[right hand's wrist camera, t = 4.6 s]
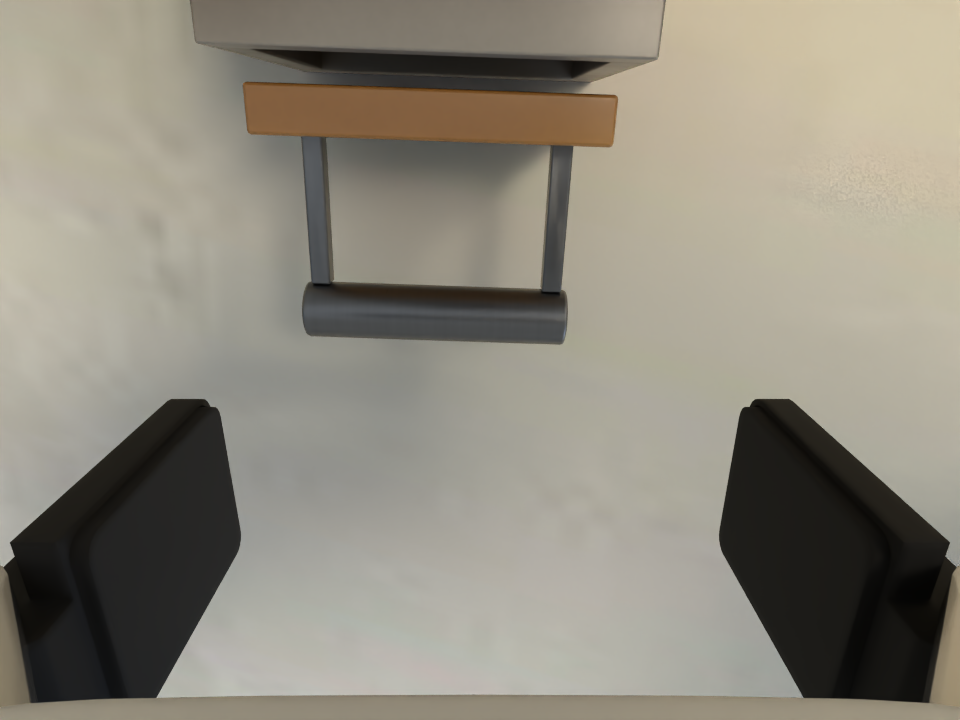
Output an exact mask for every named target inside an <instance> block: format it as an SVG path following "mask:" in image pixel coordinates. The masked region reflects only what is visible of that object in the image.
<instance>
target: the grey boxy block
mask: <svg viewBox="0 0 960 720" xmlns="http://www.w3.org/2000/svg"><path fill="white" fill-rule="evenodd" d="M665 2H666V0H190V4H191V12H192V20H193V28H194V36H195V41H196V43H198V44H202V45H206V46H210V47H216V48H218V49H222V50H226V51H230V52H233V53H237V54H241V55H245V56H249V57H252V58H256V59H260V60H264V61H267V62H271V63H275V64H279V65H283V66H286V67H290V68H294V69H298V70H301V71H305V72H333V73H360V74H387V75H415V76H442V77H470V78H497V79H525V80H552V81H580V82H593V81H596V80H599V79H602V78H605V77H608V76H611V75H614V74H617V73H620V72H622V71H625V70H628V69H631V68H634V67H637V66H640V65H643V64H646V63H649V62H651V61H654V60H657V59H658V57H659V49H660V41H661V33H662V25H663V18H664V10H665Z"/></svg>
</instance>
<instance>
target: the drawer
mask: <svg viewBox="0 0 960 720" xmlns="http://www.w3.org/2000/svg"><path fill="white" fill-rule="evenodd" d="M243 93H244V103H245V113H246V123H247V131H248V133H249V134H251V135H279V136H301V140H302V154H303V168H304V183H305V197H306V211H307V225H308V239H309V253H310V268H311V282H309V283H308V284H307V285H306V288H305V291H304V295H303V302H302V317H303V324H304V328H305V331H306V333H307V334H308V335H310V336H321V337H350V338H380V339H410V340H439V341H469V342H499V343H528V344H558V345H560V344H563V342H564V339H565V336H566V330H567V317H568V304H567V295H566V292H565V291H564V290H561V285H562V274H563V262H564V250H565V238H566V227H567V215H568V203H569V191H570V180H571V168H572V156H573V146H587V147H611V146H612V145H613V142H614V133H615V123H616V114H617V105H618V97H617V96H616V95H600V94H573V93H545V92H518V91H490V90H462V89H435V88H407V87H380V86H352V85H325V84H297V83H270V82H244V83H243ZM326 137H335V138H363V139H391V140H419V141H447V142H475V143H503V144H531V145H551V148H550V162H549V176H548V190H547V203H546V217H545V231H544V245H543V259H542V273H541V289H524V288H495V287H466V286H436V285H407V284H378V283H349V282H332V281H333V280H334V269H333V251H332V234H331V216H330V198H329V181H328V163H327V145H326Z"/></svg>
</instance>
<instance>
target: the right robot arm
mask: <svg viewBox="0 0 960 720" xmlns="http://www.w3.org/2000/svg"><path fill="white" fill-rule="evenodd" d="M240 541H241V531H240V525H239V519H238V513H237V508H236V502H235V496H234V491H233V485H232V479H231V473H230V468H229V462H228V456H227V450H226V445H225V439H224V433H223V428H222V422H221V416H220V413H219V411H218V409H217V408H216V407H210V405H209V403H208V402H207V401H206V400H205V399H170V400H169V401H167V402H166V403H165V404H164V405H163V406H162V407H160V408H159V409H158V410H157V411H156V412H155V413H154V414H153V415H151V416H150V417H149V418H148V419H147V420H146V421H145V422H144V423H143V424H141V425H140V426H139V427H138V428H137V429H136V430H135V431H134V432H133V433H131V434H130V435H129V436H128V437H127V438H126V439H125V440H124V441H123V442H121V443H120V444H119V445H118V446H117V447H116V448H115V449H114V450H113V451H111V452H110V453H109V454H108V455H107V456H106V457H105V458H104V459H103V460H101V461H100V462H99V463H98V464H97V465H96V466H95V467H94V468H92V469H91V470H90V471H89V472H88V473H87V474H86V475H85V476H84V477H82V478H81V479H80V480H79V481H78V482H77V483H76V484H75V485H74V486H72V487H71V488H70V489H69V490H68V491H67V492H66V493H65V494H64V495H62V496H61V497H60V498H59V499H58V500H57V501H56V502H55V503H54V504H52V505H51V506H50V507H49V508H48V509H47V510H46V511H45V512H43V513H42V514H41V515H40V516H39V517H38V518H37V519H36V520H35V521H33V522H32V523H31V524H30V525H29V526H28V527H27V528H26V529H25V530H23V531H22V532H21V533H20V534H19V535H18V536H17V537H16V538H15V539H13V540H12V541H11V542H10V544H11V547H12V550H13V553H14V556H15V557H14V558H13V559H12V560H11V561H10V562H9V563H8V564H6V565H5V566H4V567H3V566H0V720H960V566H957V567H956V566H955V565H954V564H952V563H951V562H950V561H949V560H948V559H947V558H946V557H945V556H946V553H947V550H948V547H949V544H950V542H949V541H948V540H947V539H945V538H944V537H943V536H942V535H941V534H940V533H939V532H938V531H937V530H935V529H934V528H933V527H932V526H931V525H930V524H929V523H928V522H927V521H925V520H924V519H923V518H922V517H921V516H920V515H919V514H918V513H917V512H915V511H914V510H913V509H912V508H911V507H910V506H909V505H908V504H906V503H905V502H904V501H903V500H902V499H901V498H900V497H899V496H898V495H896V494H895V493H894V492H893V491H892V490H891V489H890V488H889V487H888V486H886V485H885V484H884V483H883V482H882V481H881V480H880V479H879V478H878V477H876V476H875V475H874V474H873V473H872V472H871V471H870V470H869V469H868V468H866V467H865V466H864V465H863V464H862V463H861V462H860V461H859V460H857V459H856V458H855V457H854V456H853V455H852V454H851V453H850V452H849V451H847V450H846V449H845V448H844V447H843V446H842V445H841V444H840V443H839V442H837V441H836V440H835V439H834V438H833V437H832V436H831V435H830V434H829V433H827V432H826V431H825V430H824V429H823V428H822V427H821V426H820V425H819V424H817V423H816V422H815V421H814V420H813V419H812V418H811V417H810V416H809V415H807V414H806V413H805V412H804V411H803V410H802V409H801V408H800V407H798V406H797V405H796V404H795V403H794V402H793V401H791V400H790V399H755V400H754V401H753V402H752V403H751V405H750V407H744V408H743V409H742V411H741V413H740V416H739V422H738V428H737V433H736V439H735V445H734V450H733V456H732V462H731V468H730V473H729V479H728V485H727V491H726V496H725V502H724V508H723V513H722V519H721V525H720V531H719V541H720V547H721V550H722V552H723V555H724V556H725V558H726V560H727V562H728V564H729V565H730V567H731V569H732V571H733V572H734V574H735V576H736V578H737V580H738V581H739V583H740V585H741V587H742V588H743V590H744V592H745V594H746V596H747V597H748V599H749V601H750V603H751V605H752V606H753V608H754V610H755V612H756V613H757V615H758V617H759V619H760V621H761V622H762V624H763V626H764V628H765V629H766V631H767V633H768V635H769V637H770V638H771V640H772V642H773V644H774V646H775V647H776V649H777V651H778V653H779V654H780V656H781V658H782V660H783V662H784V663H785V665H786V667H787V669H788V671H789V672H790V674H791V676H792V678H793V679H794V681H795V683H796V685H797V687H798V688H799V690H800V692H801V694H802V695H803V697H804V698H779V697H729V696H622V695H338V696H231V697H181V698H156V697H157V695H158V694H159V692H160V690H161V688H162V687H163V685H164V683H165V681H166V679H167V678H168V676H169V674H170V672H171V671H172V669H173V667H174V665H175V663H176V662H177V660H178V658H179V656H180V654H181V653H182V651H183V649H184V647H185V646H186V644H187V642H188V640H189V638H190V637H191V635H192V633H193V631H194V629H195V628H196V626H197V624H198V622H199V621H200V619H201V617H202V615H203V613H204V612H205V610H206V608H207V606H208V605H209V603H210V601H211V599H212V597H213V596H214V594H215V592H216V590H217V588H218V587H219V585H220V583H221V581H222V580H223V578H224V576H225V574H226V572H227V571H228V569H229V567H230V565H231V564H232V562H233V560H234V558H235V556H236V555H237V552H238V550H239V547H240Z"/></svg>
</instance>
